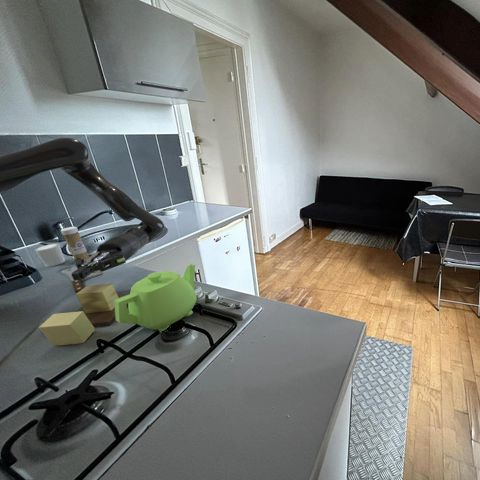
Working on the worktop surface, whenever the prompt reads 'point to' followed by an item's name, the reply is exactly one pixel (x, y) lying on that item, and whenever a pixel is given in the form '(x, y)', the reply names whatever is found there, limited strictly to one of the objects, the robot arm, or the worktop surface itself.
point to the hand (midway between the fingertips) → (75, 277)
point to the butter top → (67, 328)
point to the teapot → (158, 300)
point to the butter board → (103, 316)
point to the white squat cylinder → (50, 254)
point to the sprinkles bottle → (74, 242)
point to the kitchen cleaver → (78, 283)
